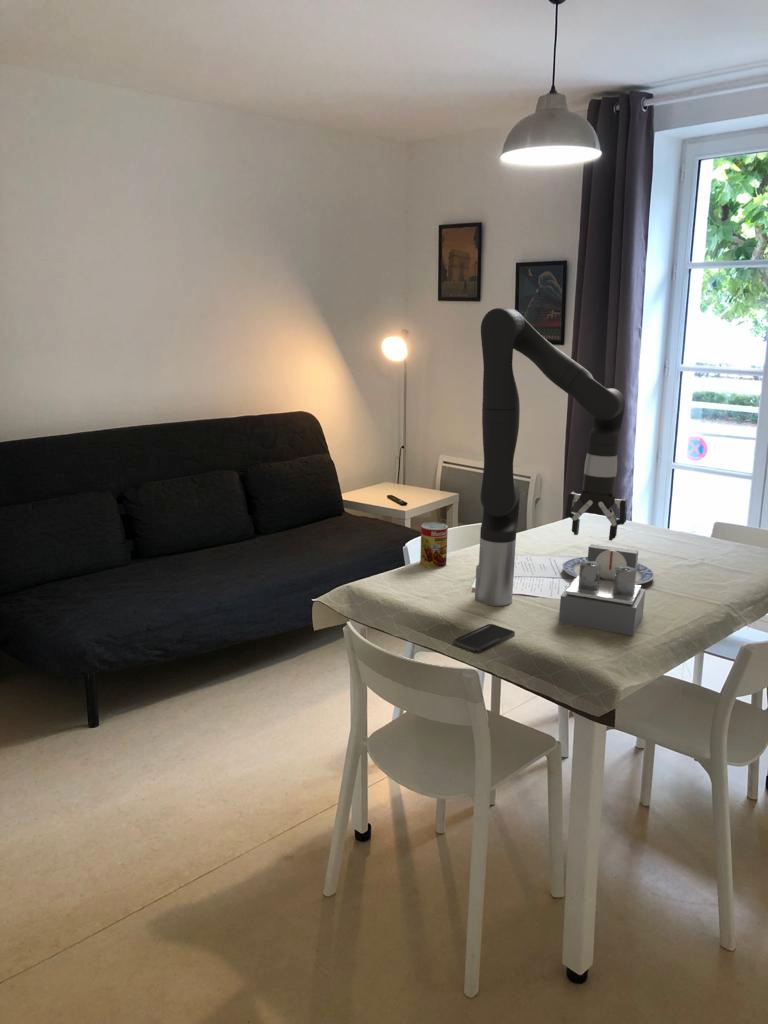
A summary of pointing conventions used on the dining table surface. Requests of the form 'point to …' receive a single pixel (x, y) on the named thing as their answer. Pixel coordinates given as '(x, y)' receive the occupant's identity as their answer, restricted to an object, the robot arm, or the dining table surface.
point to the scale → (602, 611)
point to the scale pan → (602, 592)
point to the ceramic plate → (573, 565)
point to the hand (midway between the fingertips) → (593, 537)
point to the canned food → (433, 545)
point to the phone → (484, 638)
